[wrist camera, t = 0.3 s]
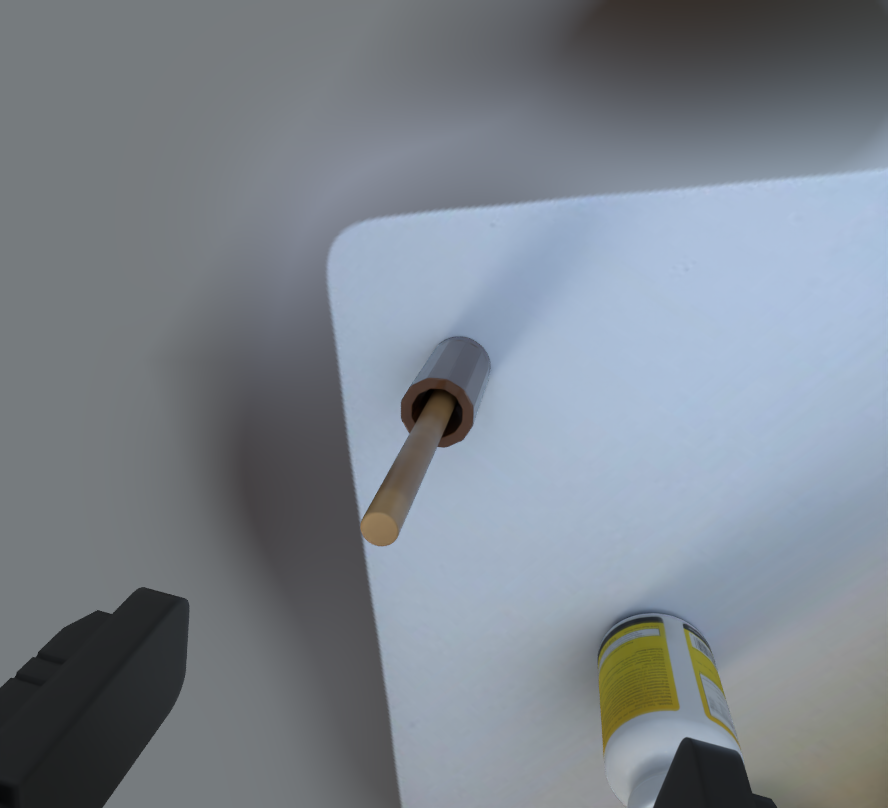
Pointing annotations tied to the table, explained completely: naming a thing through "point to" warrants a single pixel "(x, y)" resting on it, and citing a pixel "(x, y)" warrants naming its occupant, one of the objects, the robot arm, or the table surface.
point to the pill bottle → (656, 702)
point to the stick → (407, 472)
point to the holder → (450, 386)
